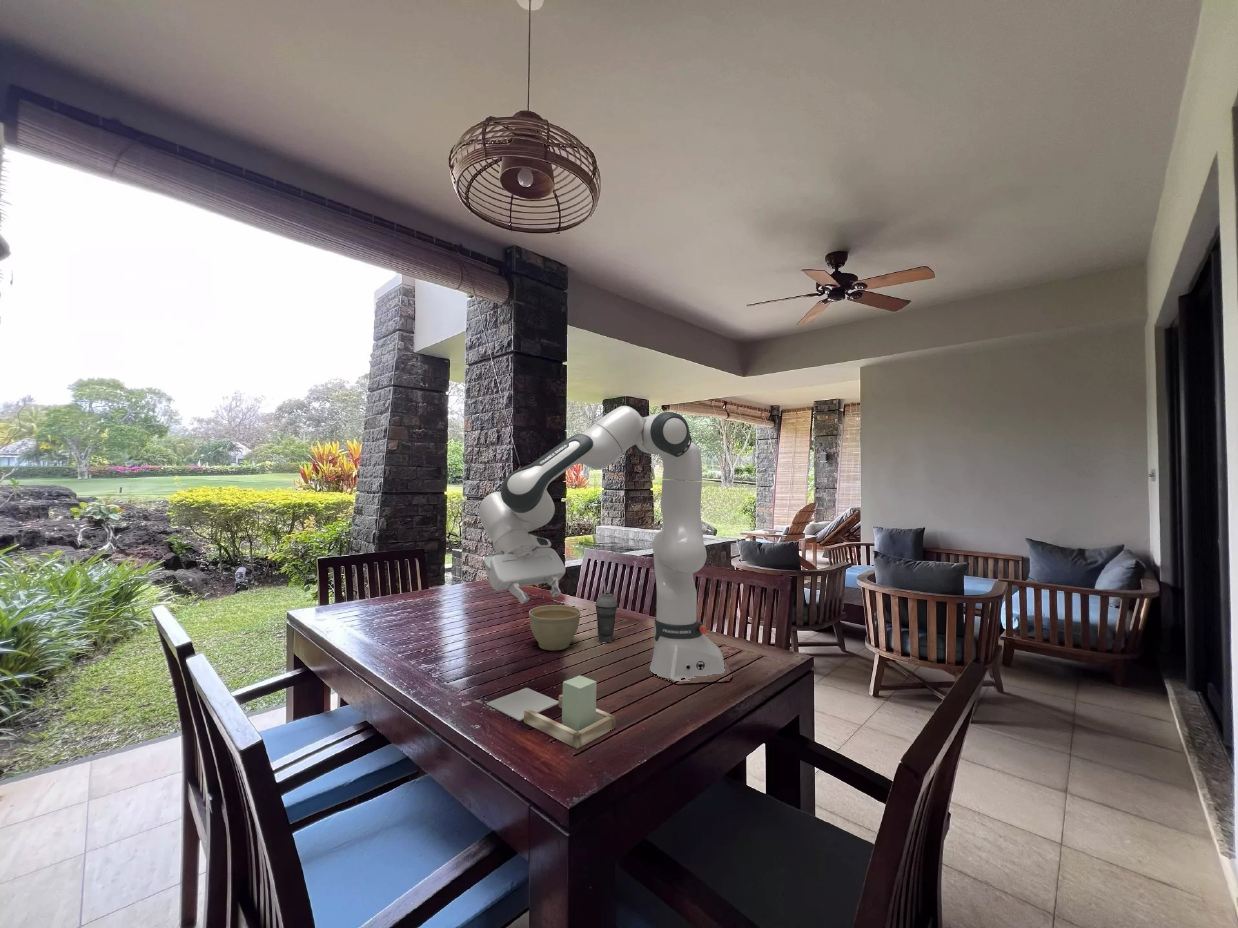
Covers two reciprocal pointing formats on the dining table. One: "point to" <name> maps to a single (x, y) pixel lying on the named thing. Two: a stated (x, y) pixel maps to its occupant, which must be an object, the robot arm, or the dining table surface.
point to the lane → (567, 734)
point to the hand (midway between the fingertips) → (541, 598)
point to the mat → (522, 703)
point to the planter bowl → (554, 625)
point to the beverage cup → (606, 615)
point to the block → (579, 703)
